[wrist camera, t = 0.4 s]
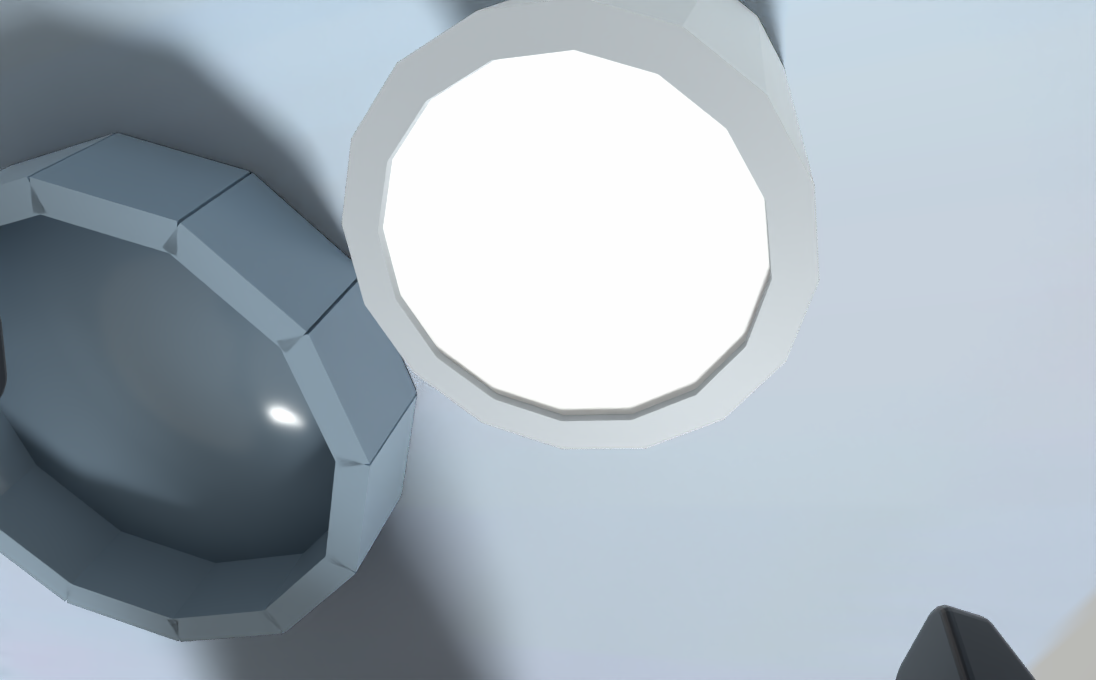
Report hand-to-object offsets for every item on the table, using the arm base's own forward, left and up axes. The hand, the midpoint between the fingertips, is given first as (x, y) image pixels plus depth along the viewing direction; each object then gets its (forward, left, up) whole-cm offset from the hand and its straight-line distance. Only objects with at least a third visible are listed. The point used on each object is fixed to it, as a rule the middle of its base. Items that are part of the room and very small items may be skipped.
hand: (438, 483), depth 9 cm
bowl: (-10, +10, -13) cm, 19 cm away
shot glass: (0, 0, -13) cm, 13 cm away
